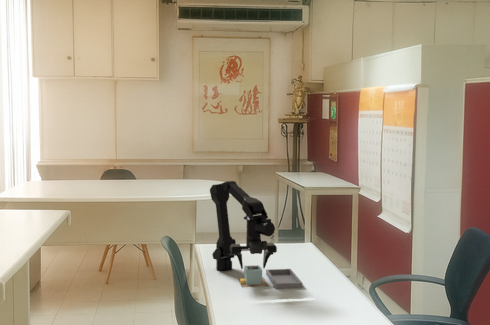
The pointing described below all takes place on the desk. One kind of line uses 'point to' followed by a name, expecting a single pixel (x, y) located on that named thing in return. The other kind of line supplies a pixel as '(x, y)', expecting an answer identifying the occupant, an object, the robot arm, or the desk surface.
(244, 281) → the sleeve
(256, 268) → the stake
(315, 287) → the desk surface
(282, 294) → the desk surface
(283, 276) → the tray
